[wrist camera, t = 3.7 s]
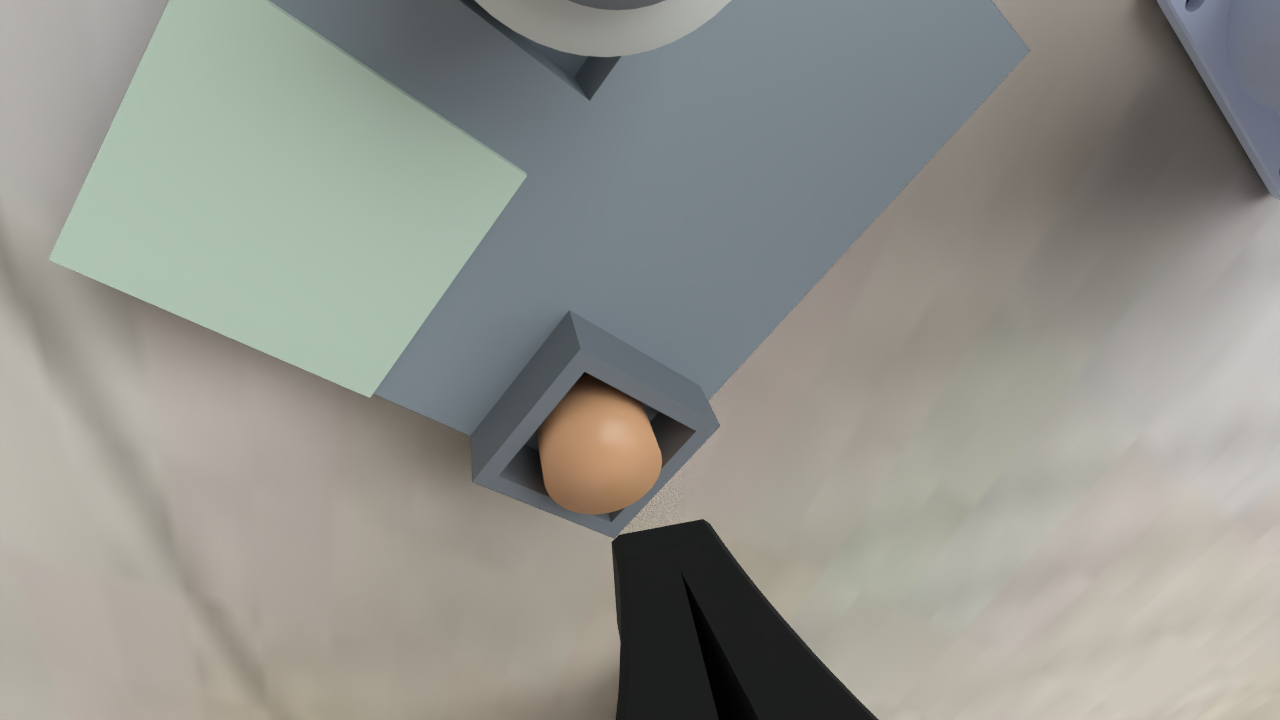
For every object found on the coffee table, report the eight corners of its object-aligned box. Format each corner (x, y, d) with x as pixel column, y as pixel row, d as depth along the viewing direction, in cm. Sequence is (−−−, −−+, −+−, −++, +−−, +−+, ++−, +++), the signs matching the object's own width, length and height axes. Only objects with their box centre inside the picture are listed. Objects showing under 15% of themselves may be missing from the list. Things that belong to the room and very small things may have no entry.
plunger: (663, 398, 17) (685, 451, 16) (598, 470, 18) (613, 528, 17) (577, 351, 16) (591, 404, 14) (512, 431, 17) (519, 490, 15)
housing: (961, 30, 17) (1086, 67, 13) (601, 442, 21) (629, 544, 18) (477, -566, 10) (492, -772, 7) (105, 205, 15) (8, 297, 11)
